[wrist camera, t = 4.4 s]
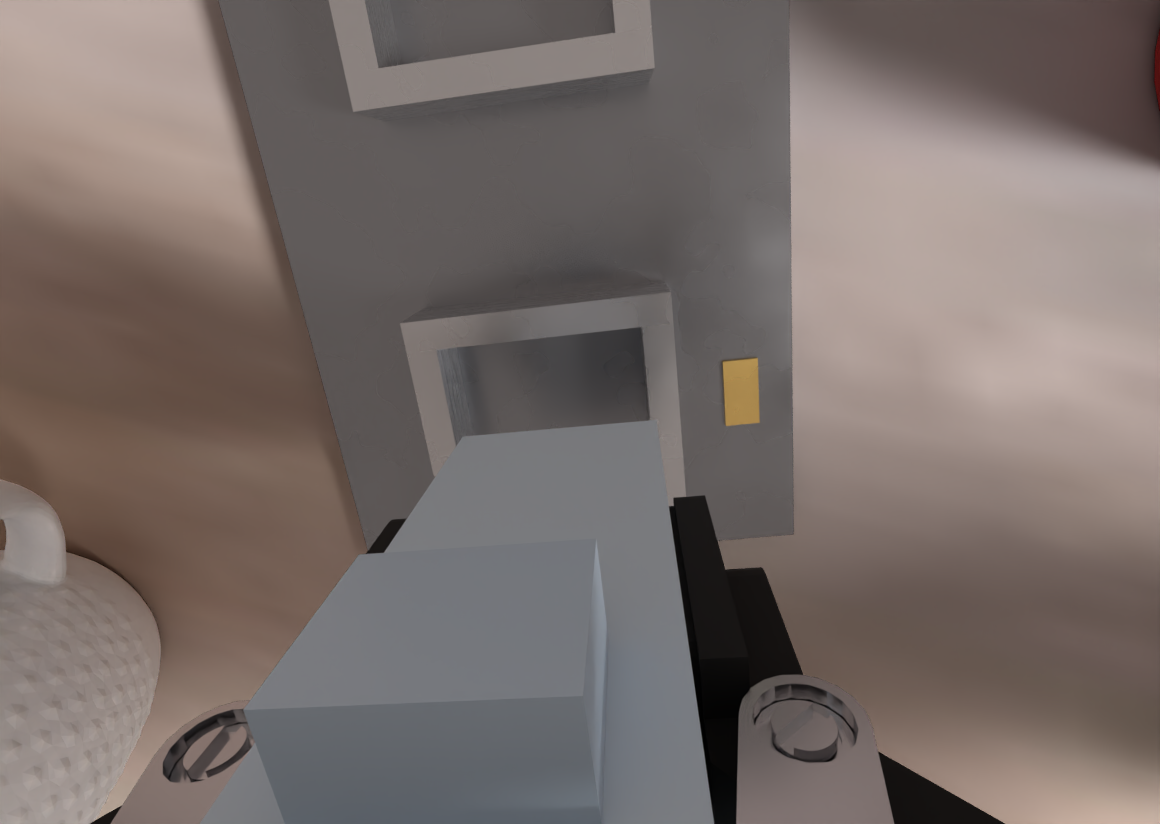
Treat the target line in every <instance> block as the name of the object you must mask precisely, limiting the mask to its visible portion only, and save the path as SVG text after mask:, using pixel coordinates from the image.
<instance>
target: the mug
mask: <svg viewBox="0 0 1160 824" xmlns="http://www.w3.org/2000/svg"><path fill="white" fill-rule="evenodd" d="M2 519H3V521H4V523H5V527H6V546H5V550H0V824H90V823H92V822H93V821H94V820H95V819H96V818H97V817H98V815H99V814H100V811H101V808H102V806H103V805H104V804H105V803H106V801H107V798H108V795H109V793H110V791H111V790H112V789H113V787H114V786H115V785H116V783H117V781H118V778H119V777H120V776H121V774H122V773H123V771H124V767H125V764H126V762H127V761H128V758H129V756H130V754H131V752H132V751H133V749H134V748H135V746H136V743H137V740H138V739H139V737H140V736H141V731H142V727H143V725H144V724H145V722H146V720H147V717H148V716H149V714H150V712H151V703H152V701H153V699H154V692H155V688H156V685H157V680H158V674H159V669H160V659H161V643H160V637H159V631H158V627H157V624H156V621H155V618H154V616H153V614H152V612H151V610H150V609H149V607H148V606H147V604H146V603H145V602H144V600H143V599H142V598H141V596H140V595H139V594H138V593H137V592H136V591H135V590H134V589H133V588H132V587H131V586H130V584H129V583H127V582H126V581H125V580H124V579H122V578H121V577H120V576H119V575H117V574H116V573H114V572H113V571H111V570H109V569H108V568H106V567H104V566H102V565H100V564H99V563H97V562H95V561H92V560H89V559H87V558H84V557H81V556H78V555H75V554H72V553H67V552H66V543H65V535H64V531H63V528H62V525H61V522H60V520H59V518H58V515H57V513H56V512H55V510H54V509H53V508H52V506H51V505H50V504H49V503H48V502H47V501H46V500H45V499H43V498H42V497H40V496H39V495H37V494H36V493H34V492H33V491H31V490H29V489H27V488H25V487H23V486H20V485H18V484H15V483H12V482H8V481H5V480H2V479H0V520H2Z"/></svg>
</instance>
